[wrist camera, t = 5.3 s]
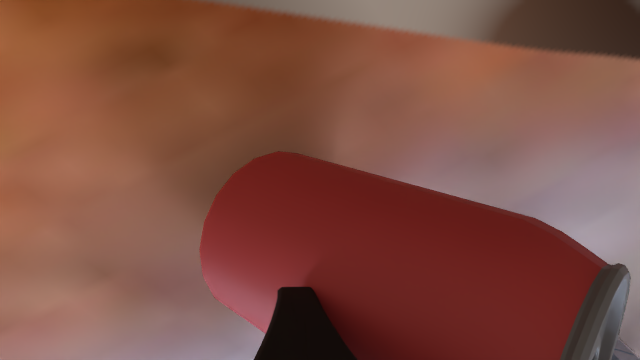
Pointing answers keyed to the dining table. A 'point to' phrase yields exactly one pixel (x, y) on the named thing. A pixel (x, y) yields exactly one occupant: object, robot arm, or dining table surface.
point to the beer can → (407, 266)
